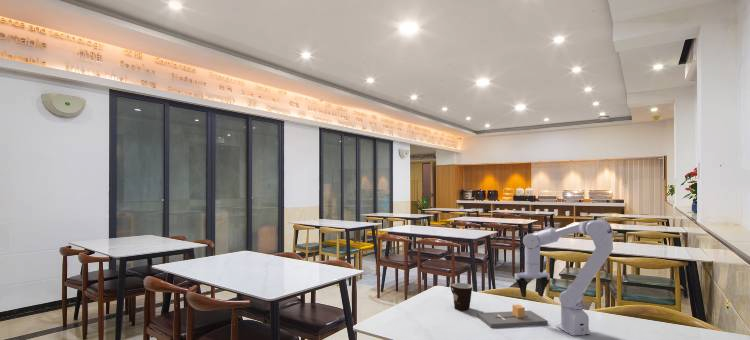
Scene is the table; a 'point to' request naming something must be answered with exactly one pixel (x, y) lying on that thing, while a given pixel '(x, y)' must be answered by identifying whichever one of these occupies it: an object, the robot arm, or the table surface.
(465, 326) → the table surface
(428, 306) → the table surface
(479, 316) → the board
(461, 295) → the coffee mug
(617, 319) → the table surface
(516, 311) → the fader knob
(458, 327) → the table surface
